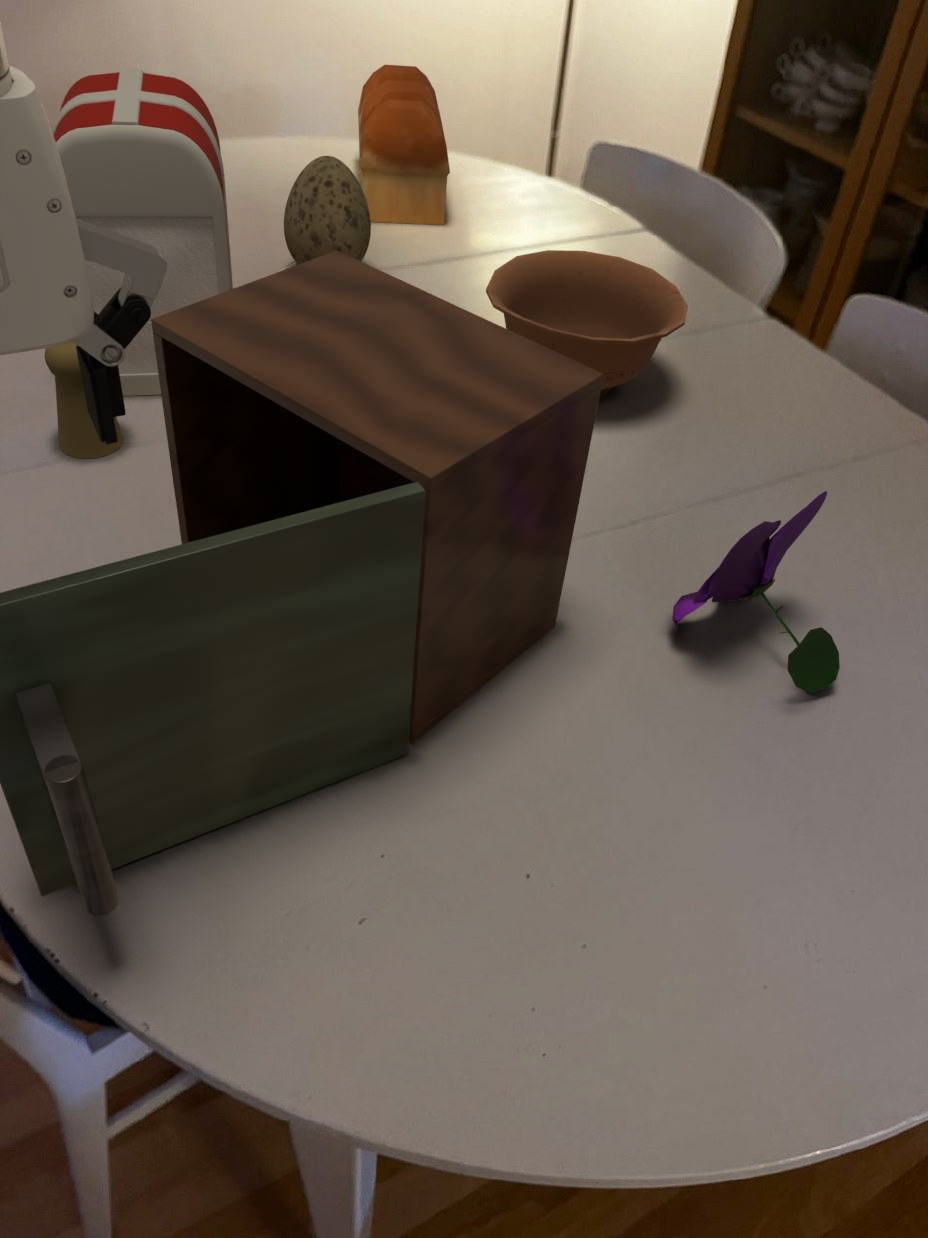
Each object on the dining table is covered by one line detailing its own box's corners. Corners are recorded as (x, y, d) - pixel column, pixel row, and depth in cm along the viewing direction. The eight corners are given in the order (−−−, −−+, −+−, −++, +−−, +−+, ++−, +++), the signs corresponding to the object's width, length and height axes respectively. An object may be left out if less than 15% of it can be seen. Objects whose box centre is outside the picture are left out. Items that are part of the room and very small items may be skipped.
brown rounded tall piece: (75, 465, 98) (53, 361, 90) (48, 435, 101) (25, 333, 93) (134, 446, 101) (117, 344, 93) (106, 418, 104) (88, 317, 96)
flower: (821, 677, 92) (733, 554, 94) (951, 611, 79) (847, 471, 81) (721, 754, 84) (628, 619, 86) (848, 695, 71) (736, 538, 73)
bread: (446, 225, 147) (453, 116, 137) (359, 222, 146) (360, 111, 136) (435, 163, 165) (440, 63, 155) (357, 159, 164) (358, 58, 154)
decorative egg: (353, 302, 127) (354, 178, 117) (272, 285, 129) (266, 162, 118) (380, 268, 135) (384, 150, 125) (304, 253, 136) (301, 135, 126)
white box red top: (79, 397, 106) (24, 122, 88) (90, 318, 119) (44, 63, 101) (241, 392, 110) (220, 126, 91) (235, 315, 122) (216, 68, 104)
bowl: (445, 395, 113) (452, 301, 105) (521, 317, 128) (532, 231, 120) (634, 454, 107) (656, 360, 99) (690, 366, 122) (713, 278, 115)
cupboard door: (455, 823, 71) (487, 559, 54) (71, 989, 60) (-29, 721, 44) (402, 744, 75) (417, 480, 59) (37, 885, 65) (-64, 608, 48)
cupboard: (411, 745, 76) (430, 478, 59) (186, 581, 87) (150, 318, 71) (555, 627, 86) (604, 373, 70) (338, 494, 98) (337, 249, 81)
